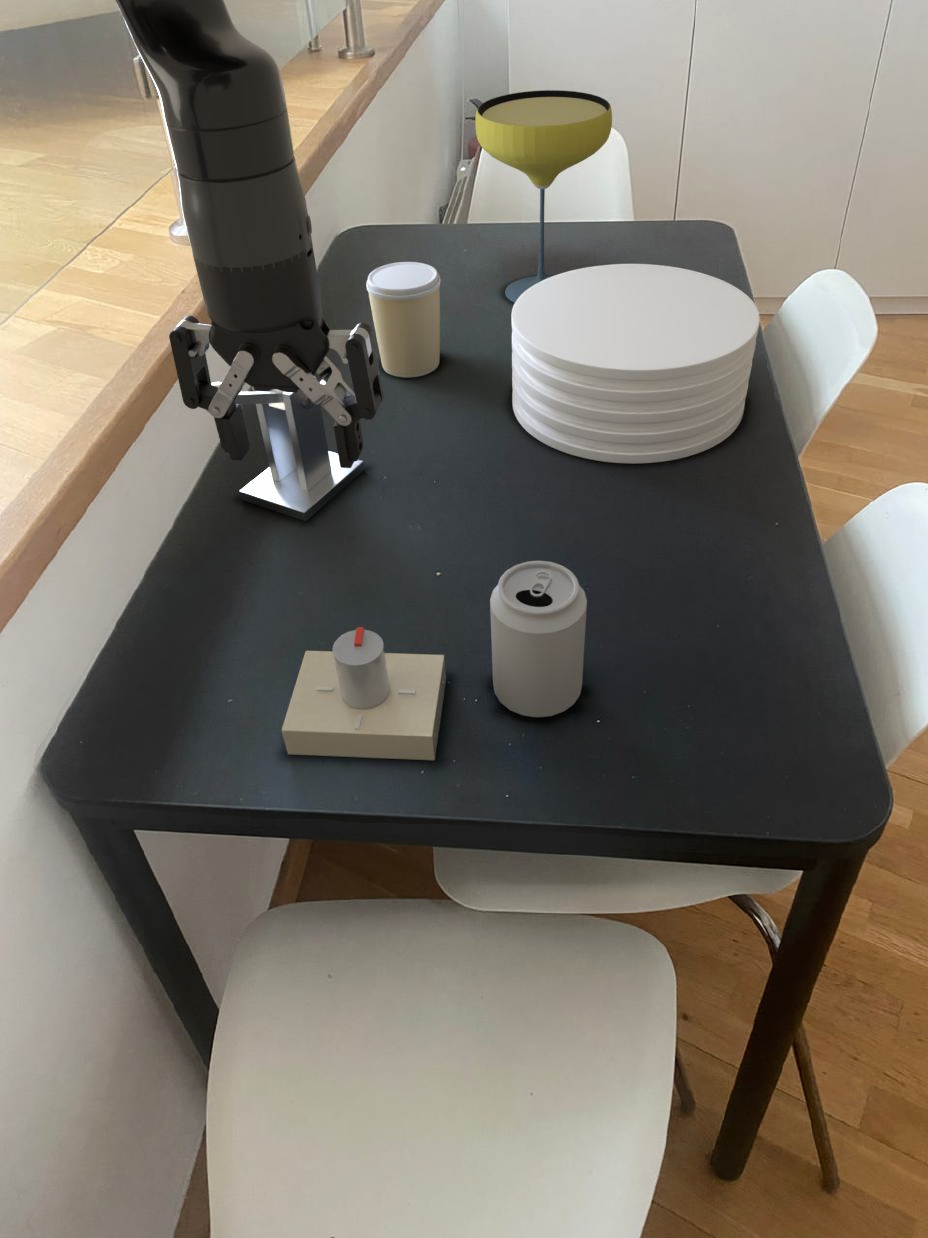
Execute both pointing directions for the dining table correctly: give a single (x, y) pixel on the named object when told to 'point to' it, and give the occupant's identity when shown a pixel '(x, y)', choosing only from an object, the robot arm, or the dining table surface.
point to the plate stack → (632, 361)
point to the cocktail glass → (542, 142)
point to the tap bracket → (297, 460)
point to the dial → (361, 668)
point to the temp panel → (367, 711)
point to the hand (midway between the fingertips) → (294, 458)
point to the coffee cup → (406, 317)
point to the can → (538, 638)
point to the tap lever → (259, 397)
